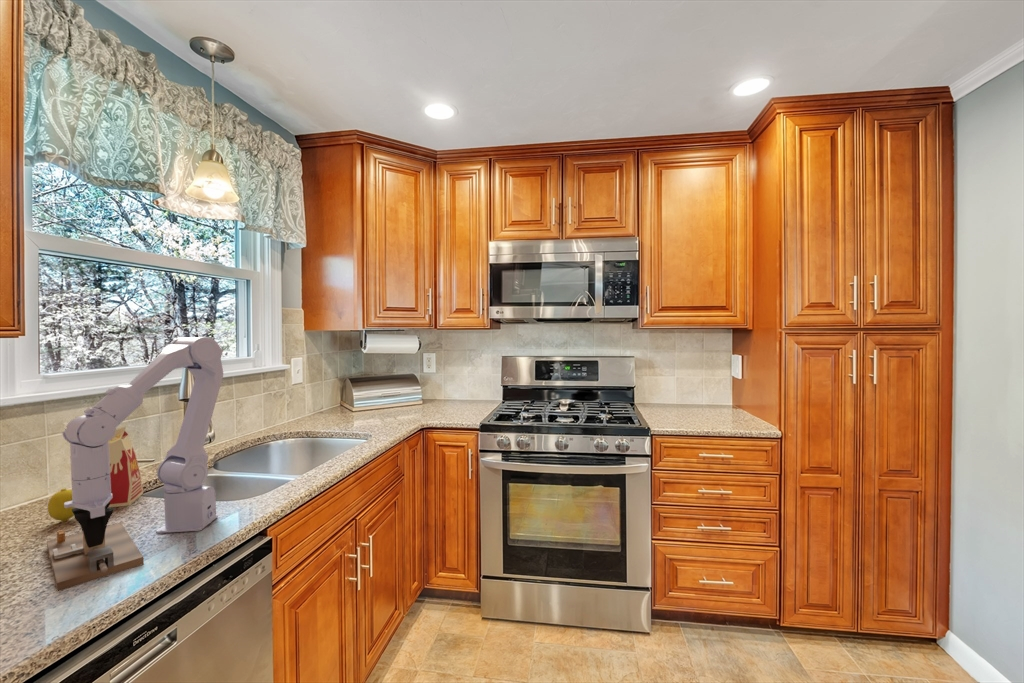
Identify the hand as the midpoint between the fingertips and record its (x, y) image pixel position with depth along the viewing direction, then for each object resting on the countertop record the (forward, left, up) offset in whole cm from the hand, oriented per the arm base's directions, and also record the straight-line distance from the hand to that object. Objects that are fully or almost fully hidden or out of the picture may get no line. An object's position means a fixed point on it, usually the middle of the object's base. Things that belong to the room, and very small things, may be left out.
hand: (94, 543), depth 92 cm
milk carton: (+18, -32, -3) cm, 37 cm away
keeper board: (+1, -1, -3) cm, 4 cm away
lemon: (+21, -20, -3) cm, 29 cm away
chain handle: (-1, +4, -1) cm, 5 cm away
